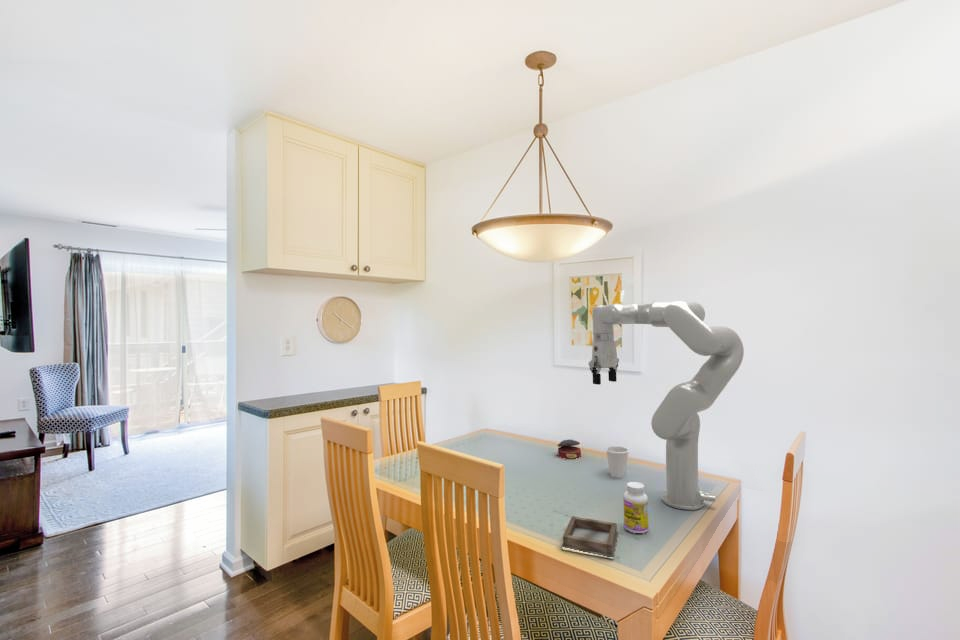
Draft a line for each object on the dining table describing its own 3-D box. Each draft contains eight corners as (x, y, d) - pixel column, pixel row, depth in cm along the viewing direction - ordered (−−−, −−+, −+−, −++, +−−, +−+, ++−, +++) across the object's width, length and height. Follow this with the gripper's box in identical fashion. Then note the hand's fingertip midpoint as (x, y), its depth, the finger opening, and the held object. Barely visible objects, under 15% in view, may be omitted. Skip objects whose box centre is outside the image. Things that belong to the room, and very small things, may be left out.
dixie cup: (625, 480, 161) (625, 453, 161) (603, 476, 166) (603, 450, 166) (631, 473, 168) (631, 447, 168) (610, 469, 173) (609, 444, 173)
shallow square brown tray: (618, 535, 122) (618, 522, 122) (613, 560, 110) (613, 546, 110) (571, 527, 127) (570, 515, 127) (561, 550, 115) (561, 536, 115)
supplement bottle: (619, 529, 125) (618, 485, 125) (630, 521, 130) (629, 478, 130) (642, 537, 120) (641, 491, 120) (652, 528, 125) (651, 484, 125)
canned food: (559, 468, 190) (548, 447, 192) (569, 459, 198) (558, 439, 200) (580, 460, 183) (568, 438, 185) (589, 451, 191) (578, 431, 193)
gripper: (597, 339, 157) (598, 386, 157) (625, 336, 168) (626, 381, 168) (580, 338, 163) (582, 384, 163) (608, 336, 173) (610, 379, 173)
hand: (604, 382), depth 165 cm, fingers open, 9 cm apart
